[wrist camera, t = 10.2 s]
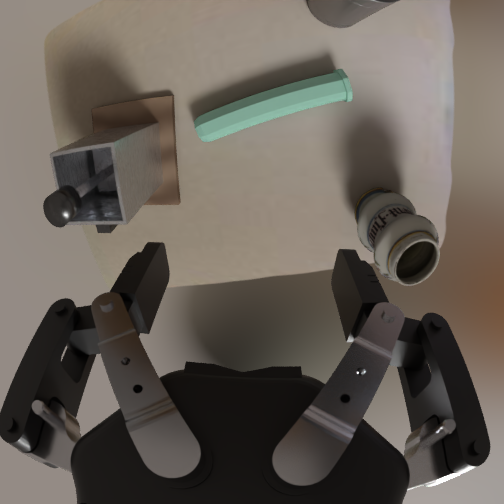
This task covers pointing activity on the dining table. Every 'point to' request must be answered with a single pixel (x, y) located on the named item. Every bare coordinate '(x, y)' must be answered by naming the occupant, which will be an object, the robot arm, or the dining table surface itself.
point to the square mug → (125, 168)
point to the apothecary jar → (397, 236)
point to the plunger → (80, 190)
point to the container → (273, 104)
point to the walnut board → (164, 114)
